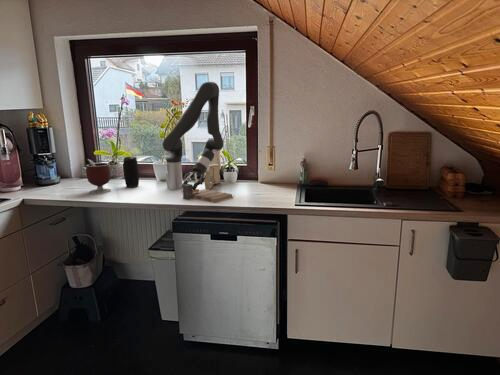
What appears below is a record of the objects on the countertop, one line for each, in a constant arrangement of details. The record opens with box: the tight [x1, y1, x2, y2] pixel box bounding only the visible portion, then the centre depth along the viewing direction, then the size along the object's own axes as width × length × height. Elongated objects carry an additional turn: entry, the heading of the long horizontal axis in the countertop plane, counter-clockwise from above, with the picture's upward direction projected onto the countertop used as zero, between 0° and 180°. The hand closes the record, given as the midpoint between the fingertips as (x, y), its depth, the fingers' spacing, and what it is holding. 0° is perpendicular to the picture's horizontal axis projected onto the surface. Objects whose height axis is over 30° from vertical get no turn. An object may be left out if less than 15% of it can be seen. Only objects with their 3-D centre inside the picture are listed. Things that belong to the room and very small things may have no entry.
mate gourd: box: [85, 158, 112, 195], centre depth 222 cm, size 16×14×20 cm
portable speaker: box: [122, 156, 140, 189], centre depth 235 cm, size 9×9×20 cm
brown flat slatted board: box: [193, 188, 233, 203], centre depth 206 cm, size 22×14×2 cm, turn 51°
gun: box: [204, 163, 221, 190], centre depth 235 cm, size 24×3×15 cm, turn 168°
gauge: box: [182, 183, 200, 201], centre depth 205 cm, size 4×10×8 cm, turn 142°
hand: (187, 188), depth 202 cm, fingers open, 8 cm apart
